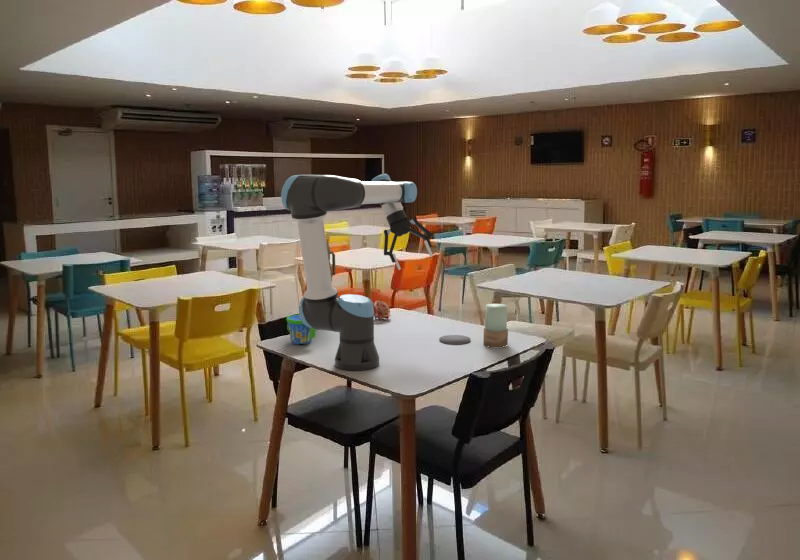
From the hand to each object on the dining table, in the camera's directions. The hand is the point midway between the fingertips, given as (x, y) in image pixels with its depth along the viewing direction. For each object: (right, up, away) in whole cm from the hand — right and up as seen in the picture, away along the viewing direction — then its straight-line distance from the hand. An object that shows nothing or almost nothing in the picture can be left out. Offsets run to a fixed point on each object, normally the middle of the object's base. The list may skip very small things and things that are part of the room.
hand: (415, 262), depth 254 cm
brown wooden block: (+30, -31, -7) cm, 44 cm away
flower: (-14, -24, +34) cm, 44 cm away
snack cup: (-44, -31, -3) cm, 54 cm away
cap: (+30, -25, -8) cm, 40 cm away
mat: (+15, -30, -1) cm, 34 cm away
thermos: (-40, -25, +31) cm, 56 cm away
